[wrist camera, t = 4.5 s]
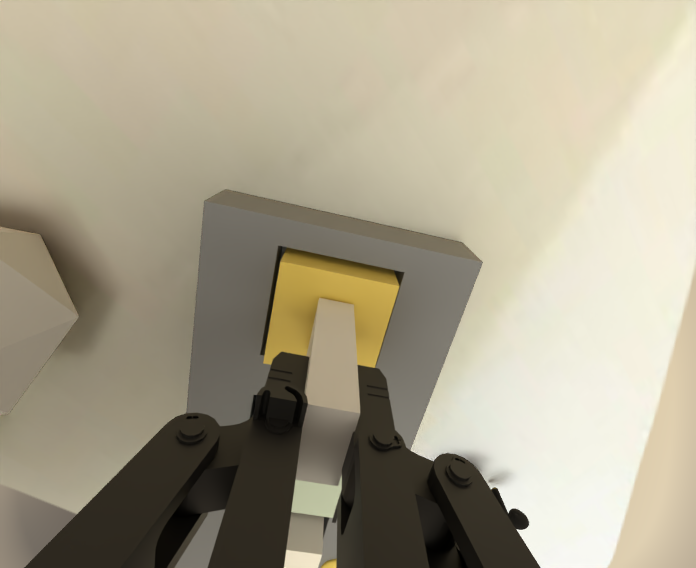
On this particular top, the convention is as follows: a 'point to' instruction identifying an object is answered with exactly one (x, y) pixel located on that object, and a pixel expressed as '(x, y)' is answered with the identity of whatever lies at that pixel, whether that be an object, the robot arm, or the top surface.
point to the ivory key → (304, 541)
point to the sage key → (315, 498)
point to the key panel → (257, 302)
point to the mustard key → (333, 284)
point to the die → (28, 312)
